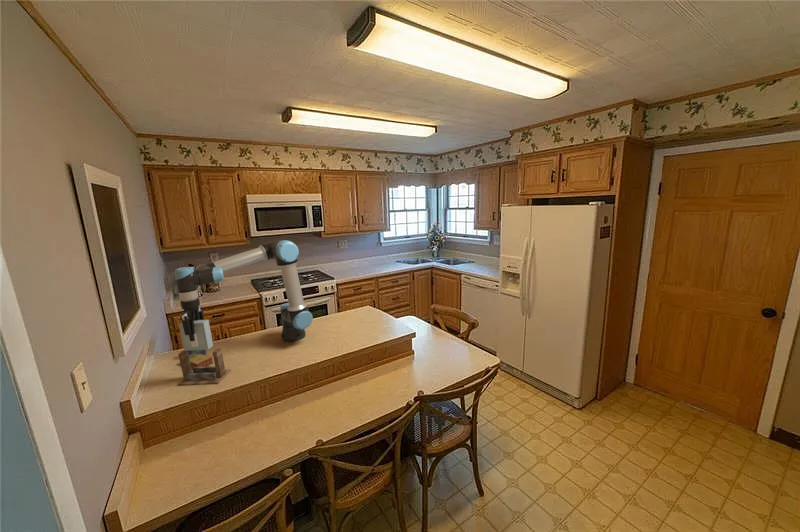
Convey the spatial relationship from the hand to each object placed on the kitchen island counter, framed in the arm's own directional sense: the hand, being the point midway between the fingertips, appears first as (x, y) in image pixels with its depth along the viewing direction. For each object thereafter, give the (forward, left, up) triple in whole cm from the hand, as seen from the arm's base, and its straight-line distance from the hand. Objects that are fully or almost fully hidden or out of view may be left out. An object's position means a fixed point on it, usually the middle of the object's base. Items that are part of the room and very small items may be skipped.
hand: (198, 344), depth 152 cm
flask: (+20, -25, -19) cm, 37 cm away
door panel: (0, 0, -2) cm, 2 cm away
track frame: (0, 0, -19) cm, 19 cm away
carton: (+14, -15, -19) cm, 28 cm away
